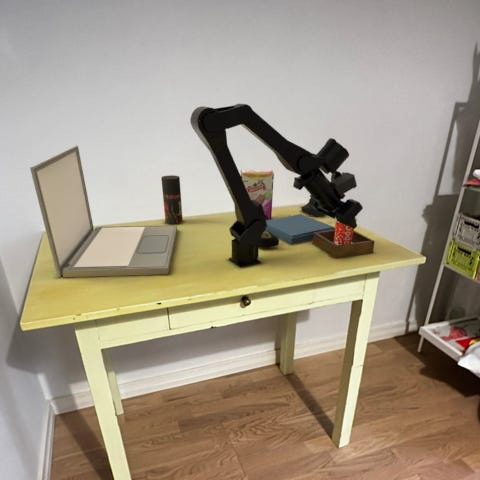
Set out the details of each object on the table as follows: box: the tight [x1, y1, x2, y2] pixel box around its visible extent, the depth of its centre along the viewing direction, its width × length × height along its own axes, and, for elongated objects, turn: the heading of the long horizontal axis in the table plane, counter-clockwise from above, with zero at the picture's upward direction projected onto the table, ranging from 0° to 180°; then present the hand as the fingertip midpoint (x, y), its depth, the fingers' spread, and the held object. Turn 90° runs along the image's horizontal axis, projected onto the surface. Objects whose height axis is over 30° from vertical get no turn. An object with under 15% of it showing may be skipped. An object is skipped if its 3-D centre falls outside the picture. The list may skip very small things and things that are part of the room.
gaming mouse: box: [300, 201, 326, 217], centre depth 149 cm, size 6×15×4 cm, turn 23°
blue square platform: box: [264, 213, 335, 245], centre depth 130 cm, size 18×18×2 cm
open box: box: [311, 230, 376, 259], centre depth 117 cm, size 13×13×4 cm
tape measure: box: [259, 231, 280, 249], centre depth 118 cm, size 7×7×4 cm
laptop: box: [29, 145, 178, 278], centre depth 109 cm, size 35×28×26 cm
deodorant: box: [161, 174, 184, 226], centre depth 136 cm, size 6×6×15 cm
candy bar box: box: [239, 169, 275, 220], centre depth 138 cm, size 11×5×16 cm, turn 93°
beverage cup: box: [333, 216, 358, 245], centre depth 114 cm, size 6×6×14 cm
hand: (349, 224), depth 115 cm, fingers closed on beverage cup, 6 cm apart
